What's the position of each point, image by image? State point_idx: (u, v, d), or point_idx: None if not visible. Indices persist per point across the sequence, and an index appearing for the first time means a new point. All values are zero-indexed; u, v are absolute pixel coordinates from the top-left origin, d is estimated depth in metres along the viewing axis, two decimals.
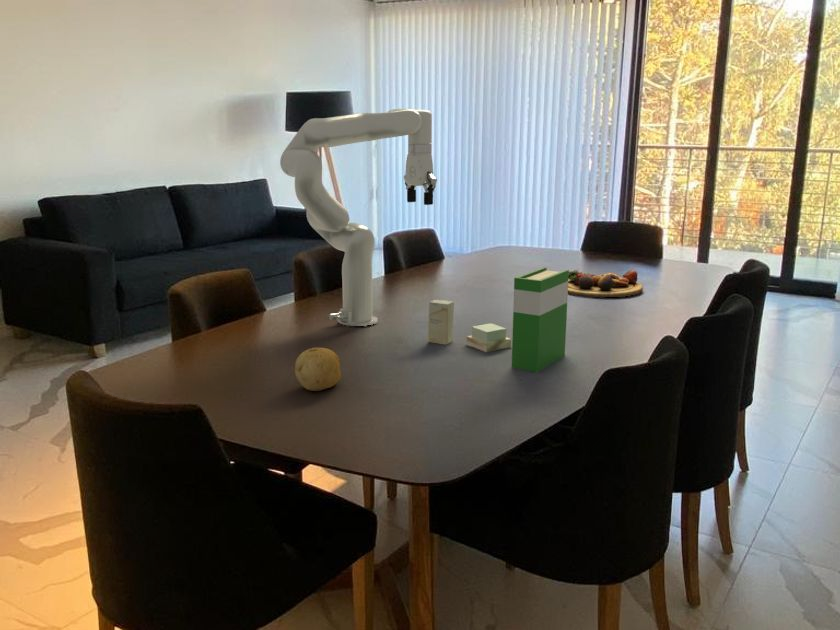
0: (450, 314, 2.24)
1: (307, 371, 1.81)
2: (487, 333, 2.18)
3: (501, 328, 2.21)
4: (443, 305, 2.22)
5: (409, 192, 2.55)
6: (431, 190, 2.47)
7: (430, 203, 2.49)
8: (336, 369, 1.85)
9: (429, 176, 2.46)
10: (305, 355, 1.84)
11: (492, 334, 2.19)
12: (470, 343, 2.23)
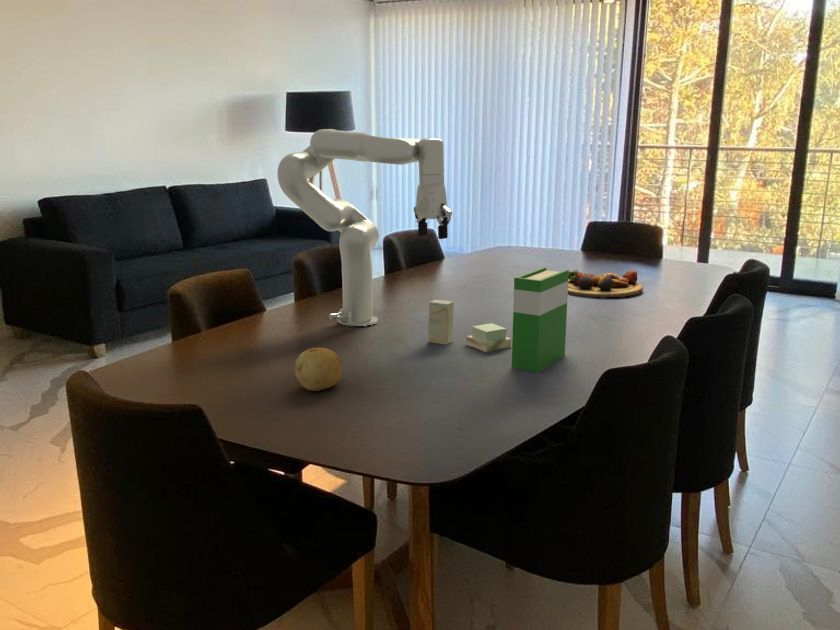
0: (450, 314, 2.24)
1: (307, 371, 1.81)
2: (487, 333, 2.18)
3: (501, 328, 2.21)
4: (443, 305, 2.22)
5: (420, 225, 2.39)
6: (446, 223, 2.31)
7: (445, 237, 2.34)
8: (336, 369, 1.85)
9: (443, 208, 2.30)
10: (305, 355, 1.84)
11: (492, 334, 2.19)
12: (470, 343, 2.23)
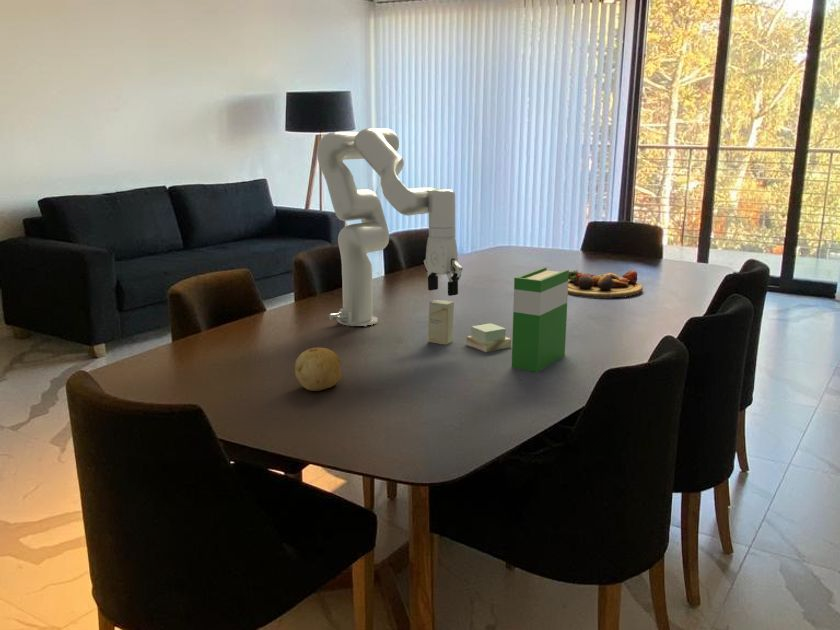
0: (450, 314, 2.24)
1: (307, 371, 1.81)
2: (486, 333, 2.18)
3: (500, 328, 2.21)
4: (443, 305, 2.22)
5: (430, 279, 2.26)
6: (456, 279, 2.17)
7: (455, 293, 2.20)
8: (336, 369, 1.85)
9: (453, 264, 2.16)
10: (305, 355, 1.84)
11: (491, 334, 2.19)
12: (470, 343, 2.23)
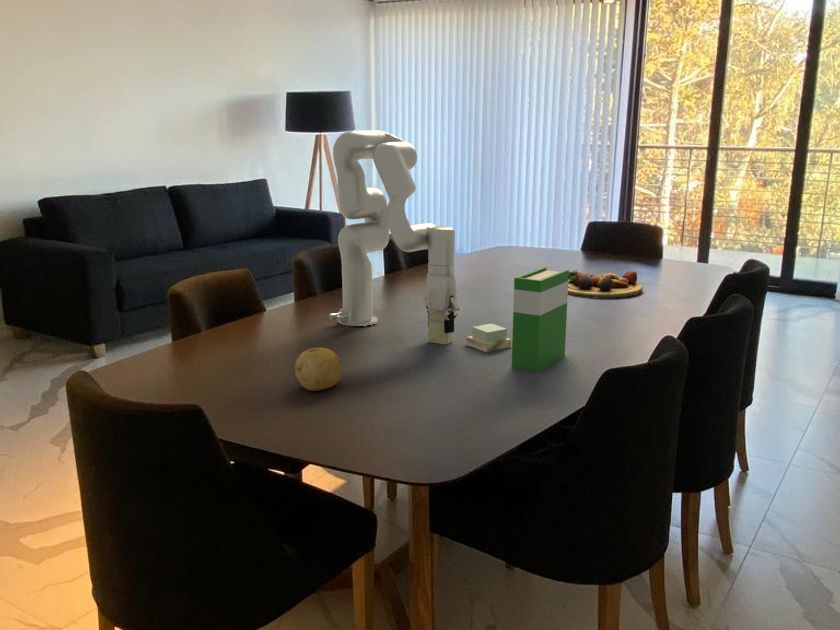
0: None
1: (307, 371, 1.81)
2: (487, 333, 2.18)
3: (502, 328, 2.21)
4: None
5: None
6: (452, 318, 2.21)
7: (451, 331, 2.23)
8: (336, 369, 1.85)
9: (452, 304, 2.19)
10: (305, 355, 1.84)
11: (492, 334, 2.19)
12: (470, 343, 2.23)
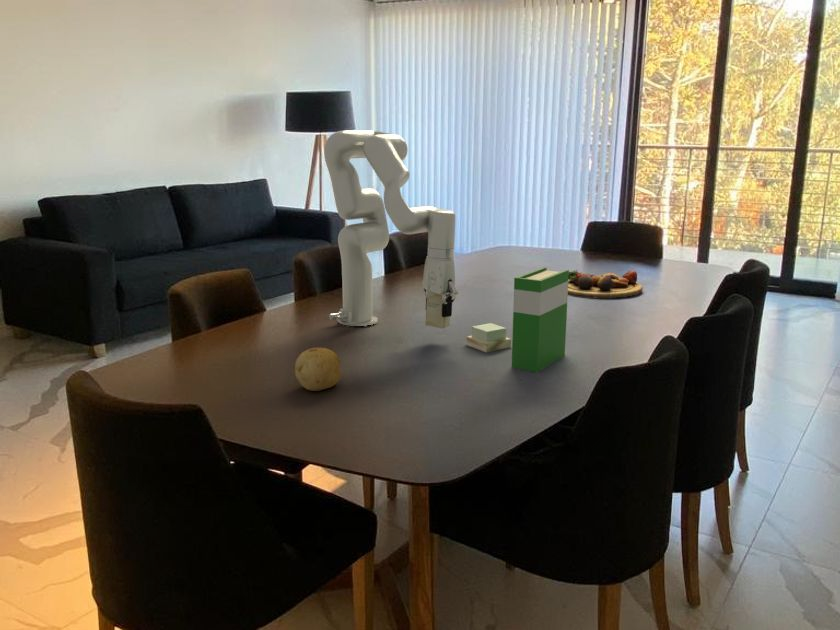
0: None
1: (307, 371, 1.81)
2: (487, 333, 2.18)
3: (501, 328, 2.22)
4: None
5: None
6: (450, 302, 2.21)
7: (448, 315, 2.23)
8: (336, 369, 1.85)
9: (450, 288, 2.19)
10: (305, 355, 1.84)
11: (492, 334, 2.19)
12: (469, 343, 2.23)
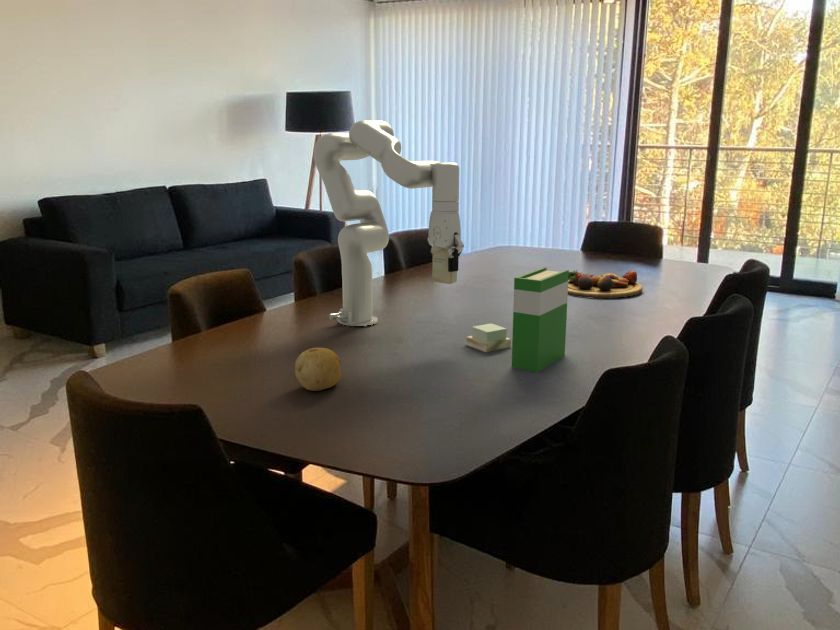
0: None
1: (307, 371, 1.81)
2: (487, 333, 2.18)
3: (501, 328, 2.21)
4: None
5: None
6: (456, 255, 2.16)
7: (455, 270, 2.19)
8: (336, 369, 1.85)
9: (456, 241, 2.15)
10: (305, 355, 1.84)
11: (492, 334, 2.19)
12: (469, 343, 2.23)
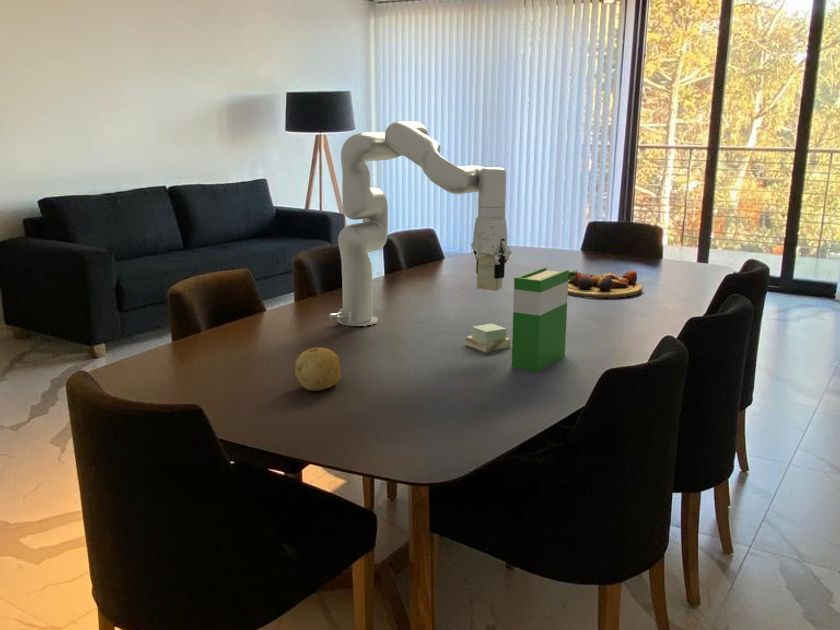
0: None
1: (307, 371, 1.81)
2: (486, 333, 2.18)
3: (501, 328, 2.21)
4: None
5: None
6: (503, 262, 2.13)
7: (501, 276, 2.16)
8: (336, 369, 1.85)
9: (503, 247, 2.11)
10: (305, 355, 1.84)
11: (491, 334, 2.19)
12: (469, 343, 2.23)
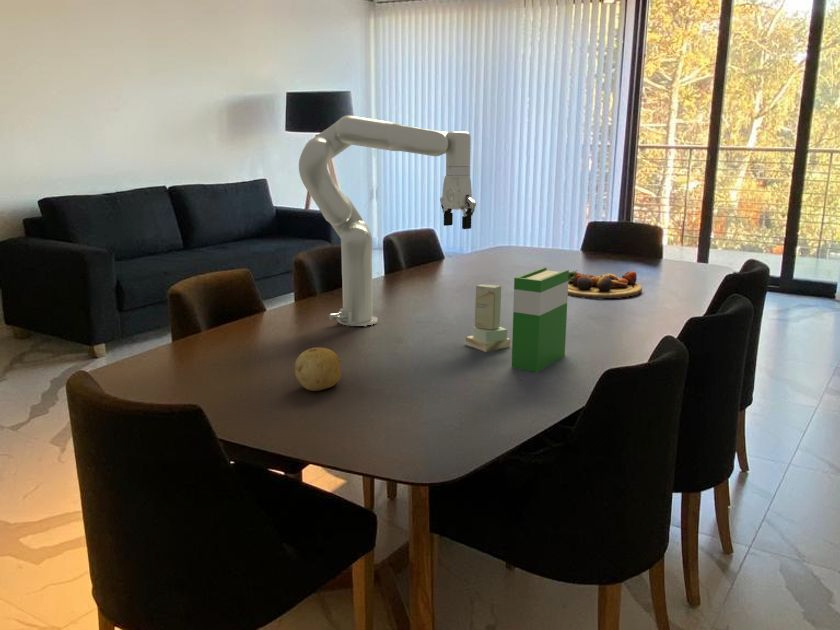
0: (497, 298, 2.19)
1: (307, 370, 1.81)
2: (486, 333, 2.18)
3: (502, 329, 2.21)
4: (490, 288, 2.17)
5: (446, 215, 2.47)
6: (470, 214, 2.39)
7: (468, 227, 2.41)
8: (336, 369, 1.85)
9: (468, 200, 2.38)
10: (305, 355, 1.84)
11: (492, 334, 2.19)
12: (469, 343, 2.24)
